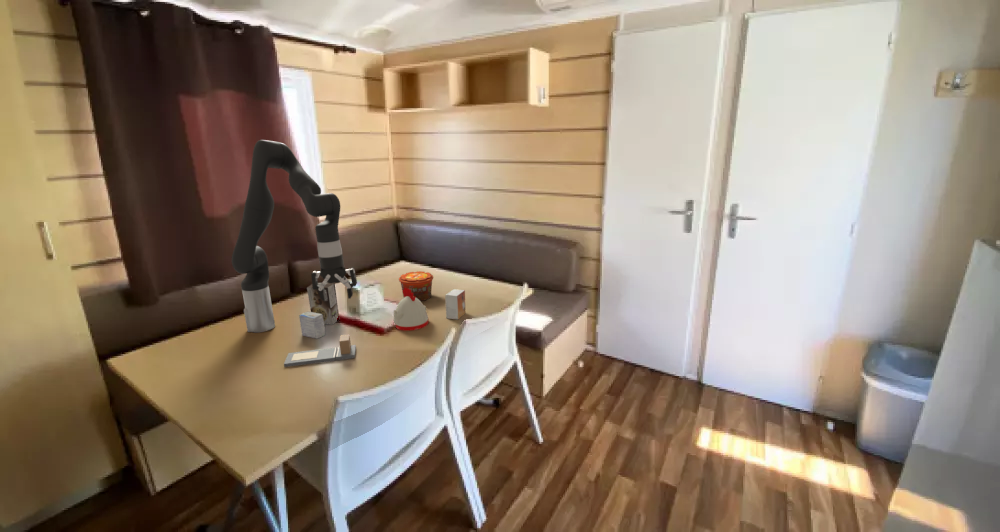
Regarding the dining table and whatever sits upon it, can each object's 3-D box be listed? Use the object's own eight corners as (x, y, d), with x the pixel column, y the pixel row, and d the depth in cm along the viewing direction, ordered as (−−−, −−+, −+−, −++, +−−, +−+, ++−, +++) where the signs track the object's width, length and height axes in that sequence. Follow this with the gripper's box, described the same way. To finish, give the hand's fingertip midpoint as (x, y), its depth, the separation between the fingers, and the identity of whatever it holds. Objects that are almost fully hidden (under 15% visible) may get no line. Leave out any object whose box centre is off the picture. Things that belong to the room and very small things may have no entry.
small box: (458, 320, 182) (457, 296, 179) (445, 318, 184) (444, 294, 181) (466, 313, 189) (465, 290, 186) (454, 311, 191) (453, 288, 188)
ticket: (284, 367, 145) (283, 363, 145) (288, 356, 153) (288, 352, 152) (335, 360, 149) (335, 357, 149) (337, 350, 157) (337, 346, 156)
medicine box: (325, 334, 169) (323, 313, 167) (316, 339, 165) (313, 318, 163) (311, 331, 173) (308, 310, 170) (301, 335, 169) (298, 314, 166)
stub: (336, 360, 149) (334, 343, 147) (338, 349, 157) (336, 333, 155) (354, 358, 151) (352, 341, 149) (355, 347, 158) (354, 331, 156)
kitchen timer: (415, 314, 188) (413, 281, 184) (435, 323, 179) (433, 288, 175) (387, 323, 179) (384, 289, 175) (405, 333, 170) (403, 297, 165)
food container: (431, 303, 201) (430, 280, 198) (396, 303, 201) (395, 281, 198) (436, 291, 216) (435, 270, 214) (404, 291, 217) (402, 270, 214)
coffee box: (340, 318, 184) (335, 282, 180) (332, 324, 178) (328, 287, 174) (319, 318, 185) (314, 281, 181) (311, 324, 179) (306, 286, 175)
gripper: (305, 258, 143) (313, 304, 148) (350, 254, 145) (356, 300, 149) (311, 252, 150) (318, 297, 155) (354, 249, 152) (360, 293, 157)
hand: (337, 299), depth 152 cm, fingers open, 8 cm apart
